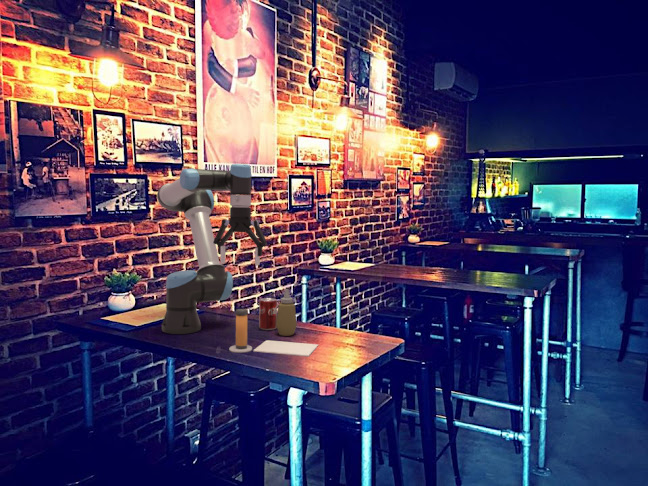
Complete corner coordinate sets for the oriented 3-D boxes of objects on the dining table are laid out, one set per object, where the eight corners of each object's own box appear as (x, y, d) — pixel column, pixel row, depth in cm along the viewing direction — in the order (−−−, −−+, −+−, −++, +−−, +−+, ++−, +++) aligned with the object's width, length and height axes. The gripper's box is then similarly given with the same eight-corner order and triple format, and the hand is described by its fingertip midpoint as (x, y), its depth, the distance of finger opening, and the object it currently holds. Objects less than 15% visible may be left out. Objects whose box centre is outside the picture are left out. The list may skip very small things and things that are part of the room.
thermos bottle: (233, 348, 187) (233, 310, 186) (238, 345, 191) (238, 308, 190) (244, 350, 186) (245, 311, 185) (249, 346, 190) (249, 309, 189)
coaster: (225, 351, 186) (225, 349, 186) (234, 345, 194) (234, 343, 194) (247, 353, 184) (247, 351, 184) (255, 347, 192) (255, 345, 192)
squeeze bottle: (300, 333, 213) (300, 288, 212) (290, 338, 206) (291, 291, 204) (282, 330, 217) (283, 286, 215) (272, 335, 209) (272, 289, 208)
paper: (253, 351, 187) (253, 350, 187) (266, 341, 200) (266, 340, 200) (308, 356, 182) (308, 355, 182) (318, 345, 196) (318, 344, 196)
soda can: (278, 326, 224) (278, 298, 223) (275, 330, 216) (275, 301, 215) (261, 325, 224) (261, 297, 223) (257, 330, 217) (257, 300, 216)
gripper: (204, 206, 196) (204, 263, 198) (269, 207, 190) (268, 267, 192) (213, 205, 203) (213, 261, 205) (276, 207, 197) (275, 264, 199)
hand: (240, 264), depth 198 cm, fingers open, 13 cm apart
